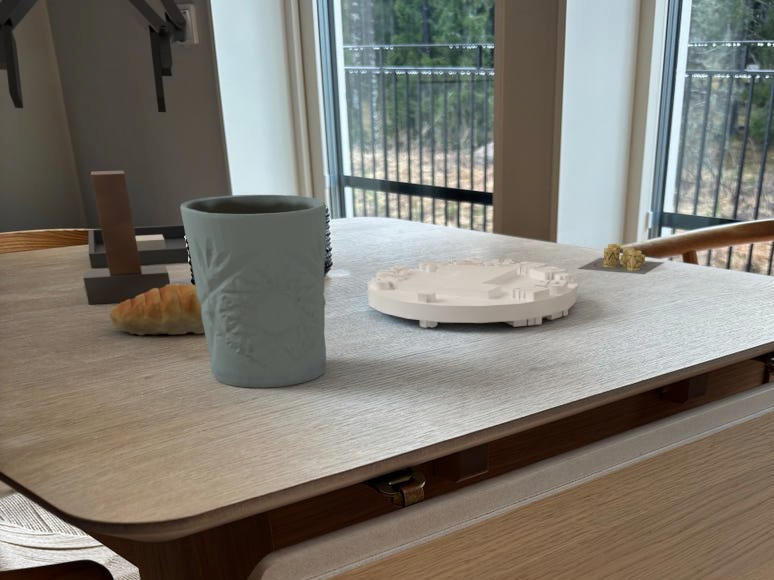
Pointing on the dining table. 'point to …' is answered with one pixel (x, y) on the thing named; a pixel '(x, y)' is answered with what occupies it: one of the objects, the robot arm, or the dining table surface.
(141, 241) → the beige square block
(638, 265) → the dice set
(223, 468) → the dining table surface
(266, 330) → the grey-green embossed cup
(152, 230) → the tray
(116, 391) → the dining table surface
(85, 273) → the brown grey t-shaped piece
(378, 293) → the white round plaque
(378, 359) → the dining table surface
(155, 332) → the pastry
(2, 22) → the robot arm
